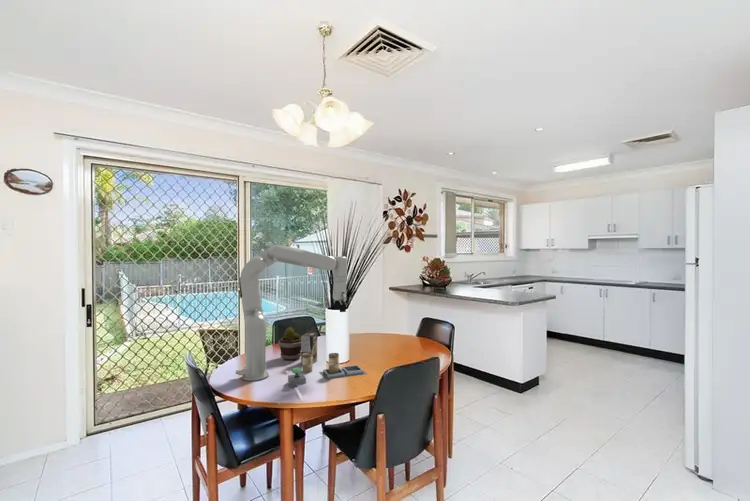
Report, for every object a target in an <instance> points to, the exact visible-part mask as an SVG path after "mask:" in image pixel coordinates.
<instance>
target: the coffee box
mask: <svg viewBox="0 0 750 501" xmlns="http://www.w3.org/2000/svg"><path fill="white" fill-rule="evenodd" d="M300 337H301V357H300V359H301V360H300V365H301V366H302V363H303V357H302V355H303V353H312V365H313V364H315V363H316V362H317V361H318V332H306V333H304V334H303V335H300Z"/></svg>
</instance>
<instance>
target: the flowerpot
mask: <svg viewBox="0 0 750 501" xmlns="http://www.w3.org/2000/svg"><path fill="white" fill-rule="evenodd" d="M277 344H278V347H279V349H280V358H281V359H282V361H288V362H289V361H290V362H293V361H297V360H299V359H301V335H300V334H299V333H297V332H296V331H295V329H294V328H293V326H289V327H288V328H286V329H285V331H284V335H283V337H281V338H279V340H278V342H277Z"/></svg>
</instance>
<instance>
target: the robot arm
mask: <svg viewBox="0 0 750 501" xmlns="http://www.w3.org/2000/svg"><path fill="white" fill-rule="evenodd" d="M277 262H279V263H284V264H289V265H294V266H297V267H299V266H300V267H304V268H305V267H306V268H307V267H308V268H313V269H318V270H319V269H320V270H323V271H327V272H329V271H332V273H333V274H332V281H333V286H332V287H333V288H332V299H333V304H334V307H333V308H334V310H339V312H340V313H346V312H347V283H348V258H347V257H346V256H330V255H327V254H326V255H325V254H322V253H316V252H312V251H308V250H305V249H301V248H300V249H299V248H295V247H291V246H286V245H283V244H282V245H281V244H274V245H271V246H270V247H269V248H266V249H265V250H263V251H261V252H259V253H258V254H256V255H254V256H253V257H251V258H250V259H249V260H248V262H246V264H244V266H243V268H242V270H241V272H240V276H239V277H240V278H239V279H240V280H239V281H240V288H241V307H242V312H243V317H244V318H243V320H244V323H245V342H244V343H245V344H244V345H245V366H244V368H242V369H238V370H235V375H237V376H241V378H242V380H243V381H248V382H250V381H251V382H253V381H254V382H255V381H261V380H265V379H267V378H268V377H269V375H270V372H268V371H267V370H266V349H267V348H266V333H267V321H266V318H265V316H264V312H263V305H262V304H263V299H262V296H261V290H260V282H259V278H260V275H261V274H262V273H263V272H265V271H266V270H267V268H269V267H271V266H272V265H275V263H277Z"/></svg>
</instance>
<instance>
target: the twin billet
mask: <svg viewBox="0 0 750 501" xmlns="http://www.w3.org/2000/svg"><path fill="white" fill-rule="evenodd" d="M339 357H340V354H339V353H338V352H330V353H329V354H328V369H329V374H334V373H339V368H340V366H339V365H340V364H339V362H340V358H339Z"/></svg>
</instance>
